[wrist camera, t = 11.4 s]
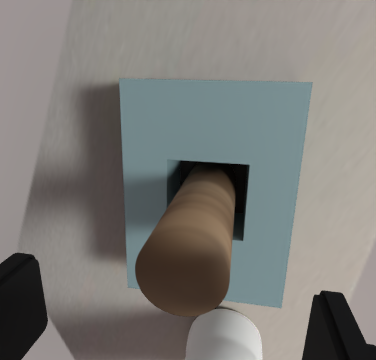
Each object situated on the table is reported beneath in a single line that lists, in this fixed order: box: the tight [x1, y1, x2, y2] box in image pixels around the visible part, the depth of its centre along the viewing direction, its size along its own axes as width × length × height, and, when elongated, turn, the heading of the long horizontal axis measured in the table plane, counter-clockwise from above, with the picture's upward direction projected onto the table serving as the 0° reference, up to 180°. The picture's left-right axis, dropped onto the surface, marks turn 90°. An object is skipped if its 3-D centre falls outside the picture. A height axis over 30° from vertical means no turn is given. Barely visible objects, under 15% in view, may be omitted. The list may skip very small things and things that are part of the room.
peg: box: [135, 161, 236, 317], centre depth 19 cm, size 4×4×14 cm
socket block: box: [119, 78, 312, 308], centre depth 23 cm, size 16×12×5 cm
